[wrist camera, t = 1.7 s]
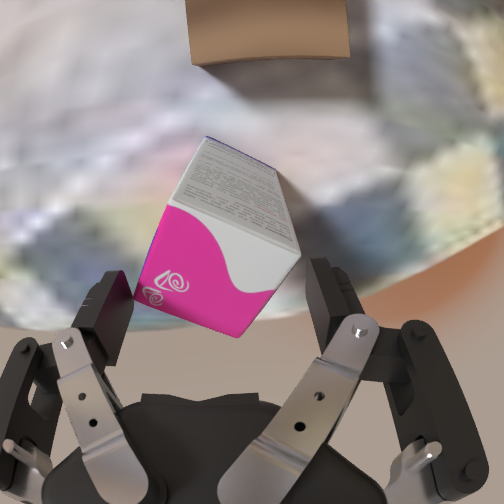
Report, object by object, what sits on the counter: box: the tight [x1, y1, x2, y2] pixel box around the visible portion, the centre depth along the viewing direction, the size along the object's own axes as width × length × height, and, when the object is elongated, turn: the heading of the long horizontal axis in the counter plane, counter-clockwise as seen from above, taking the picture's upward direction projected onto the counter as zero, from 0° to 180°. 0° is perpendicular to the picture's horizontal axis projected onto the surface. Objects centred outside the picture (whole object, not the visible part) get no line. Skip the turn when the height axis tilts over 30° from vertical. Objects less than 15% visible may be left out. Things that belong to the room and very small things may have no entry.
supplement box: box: [133, 136, 301, 338], centre depth 17 cm, size 6×6×12 cm
